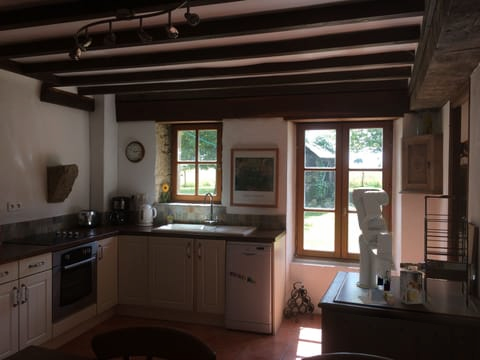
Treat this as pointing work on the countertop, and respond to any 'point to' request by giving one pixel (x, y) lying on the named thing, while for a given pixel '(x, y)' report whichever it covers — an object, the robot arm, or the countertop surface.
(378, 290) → the block
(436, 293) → the countertop surface
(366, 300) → the mat
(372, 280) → the robot arm
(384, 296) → the rail
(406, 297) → the coffee box
